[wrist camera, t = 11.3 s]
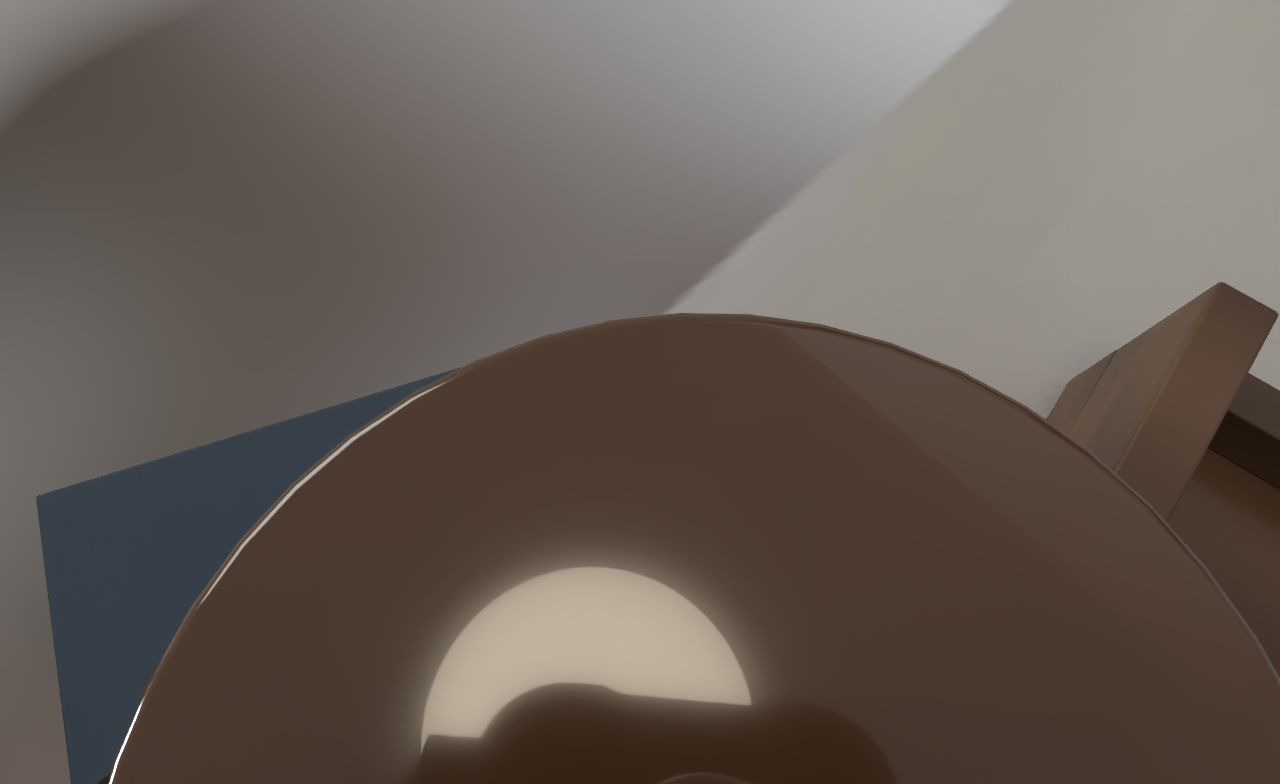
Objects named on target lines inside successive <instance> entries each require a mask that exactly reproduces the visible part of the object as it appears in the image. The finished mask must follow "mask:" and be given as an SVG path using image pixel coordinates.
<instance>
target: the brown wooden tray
mask: <svg viewBox="0 0 1280 784" xmlns="http://www.w3.org/2000/svg"><path fill="white" fill-rule="evenodd" d="M1277 317H1278V313H1277V312H1276V311H1274V310H1272V309H1271V308H1269V307H1267V306H1265V305H1263V304H1262V303H1260V302H1258V301H1256V300H1254V299H1253V298H1251V297H1249V296H1247V295H1245V294H1243V293H1242V292H1240V291H1238V290H1236V289H1234V288H1233V287H1231V286H1229V285H1227V284H1225V283H1222V282H1219V283H1217V284H1216V285H1214V286H1213V287H1211V288H1210V289H1208V290H1207V291H1205V292H1204V293H1202V294H1201V295H1199V296H1198V297H1196V298H1195V299H1193V300H1192V301H1190V302H1189V303H1187V304H1186V305H1184V306H1183V307H1181V308H1180V309H1178V310H1177V311H1175V312H1174V313H1172V314H1171V315H1169V316H1168V317H1166V318H1165V319H1163V320H1162V321H1160V322H1159V323H1157V324H1156V325H1154V326H1153V327H1151V328H1150V329H1148V330H1147V331H1145V332H1144V333H1142V334H1141V335H1139V336H1138V337H1136V338H1135V339H1133V340H1132V341H1130V342H1129V343H1127V344H1126V345H1124V346H1123V347H1121V348H1120V349H1118V350H1115V351H1114V352H1112V353H1111V354H1109V355H1108V356H1106V357H1105V358H1103V359H1102V360H1100V361H1099V362H1097V363H1096V364H1094V365H1093V366H1091V367H1090V368H1088V369H1087V370H1085V371H1084V372H1082V373H1081V374H1079V375H1078V376H1076V377H1075V378H1073V379H1072V380H1070V381H1069V383H1068V385H1067V387H1066V388H1065V390H1064V392H1063V393H1062V395H1061V397H1060V398H1059V400H1058V402H1057V404H1056V405H1055V407H1054V409H1053V410H1052V412H1051V414H1050V415H1049V417H1048V419H1047V421H1048V422H1049V423H1051V424H1052V425H1054V426H1055V427H1056V428H1058V429H1059V430H1061V431H1062V432H1064V433H1065V434H1066V435H1068V436H1069V437H1071V438H1072V439H1074V440H1075V441H1076V442H1078V443H1079V444H1081V445H1082V446H1084V447H1085V448H1086V449H1088V450H1089V451H1091V452H1092V453H1093V454H1094V455H1095V456H1096V457H1097V458H1099V459H1100V460H1101V461H1102V462H1103V463H1104V464H1105V465H1106V466H1108V467H1109V468H1110V469H1111V470H1112V471H1113V472H1114V473H1115V474H1117V475H1118V476H1119V477H1120V478H1121V479H1122V480H1123V481H1124V482H1126V483H1127V484H1128V485H1129V486H1130V487H1131V488H1132V489H1134V490H1135V491H1136V492H1137V493H1138V494H1139V495H1140V496H1141V497H1143V498H1144V499H1145V500H1146V501H1147V502H1148V503H1149V504H1150V505H1151V506H1152V507H1153V508H1154V509H1155V510H1156V511H1157V512H1158V513H1159V514H1160V516H1161V517H1162V518H1163V519H1164V520H1165V521H1166V522H1167V523H1168V524H1169V526H1170V527H1171V528H1172V529H1173V530H1174V531H1175V532H1176V533H1177V534H1178V536H1179V537H1180V538H1181V539H1182V540H1183V541H1184V542H1185V543H1186V544H1187V546H1188V547H1189V548H1190V549H1191V550H1192V551H1193V552H1194V553H1195V554H1196V555H1197V557H1198V558H1199V559H1200V560H1201V561H1202V562H1203V563H1204V564H1205V565H1206V567H1207V568H1208V569H1209V571H1210V572H1211V574H1212V575H1213V576H1214V578H1215V579H1216V580H1217V582H1218V583H1219V585H1220V586H1221V587H1222V589H1223V590H1224V592H1225V593H1226V594H1227V596H1228V597H1229V599H1230V600H1231V601H1232V603H1233V604H1234V606H1235V607H1236V608H1237V610H1238V611H1239V612H1240V614H1241V615H1242V617H1243V618H1244V619H1245V621H1246V622H1247V624H1248V625H1249V626H1250V628H1251V629H1252V631H1253V632H1254V633H1255V635H1256V636H1257V638H1258V639H1259V641H1260V643H1261V645H1262V647H1263V648H1264V650H1265V652H1266V654H1267V655H1268V657H1269V659H1270V661H1271V663H1272V664H1273V666H1274V668H1275V670H1276V671H1277V673H1278V675H1279V677H1280V391H1279V390H1277V389H1276V388H1274V387H1272V386H1270V385H1268V384H1267V383H1265V382H1263V381H1261V380H1260V379H1258V378H1256V377H1254V376H1253V375H1251V374H1249V373H1248V372H1249V370H1250V368H1251V366H1252V364H1253V362H1254V360H1255V358H1256V357H1257V355H1258V353H1259V351H1260V349H1261V347H1262V345H1263V344H1264V342H1265V340H1266V338H1267V336H1268V334H1269V332H1270V330H1271V329H1272V327H1273V325H1274V323H1275V321H1276V319H1277Z"/></svg>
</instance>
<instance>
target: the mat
mask: <svg viewBox="0 0 1280 784" xmlns="http://www.w3.org/2000/svg"><path fill="white" fill-rule="evenodd" d="M461 368H462V367H461ZM458 369H460V368H458ZM458 369H455V370H451V371H448V372H444V373H441V374H438V375H435V376H431V377H428V378H425V379H422V380H418V381H415V382H412V383H408V384H405V385H402V386H398V387H395V388H392V389H388V390H385V391H382V392H378V393H375V394H372V395H369V396H366V397H362V398H359V399H355V400H352V401H349V402H345V403H342V404H339V405H336V406H333V407H329V408H326V409H323V410H319V411H316V412H312V413H309V414H306V415H303V416H299V417H296V418H293V419H289V420H286V421H283V422H279V423H276V424H273V425H270V426H266V427H263V428H260V429H256V430H253V431H250V432H247V433H243V434H240V435H236V436H233V437H230V438H227V439H223V440H220V441H217V442H213V443H210V444H207V445H204V446H200V447H197V448H194V449H190V450H187V451H184V452H180V453H178V454H174V455H171V456H167V457H164V458H161V459H157V460H154V461H151V462H147V463H144V464H141V465H137V466H134V467H131V468H128V469H125V470H121V471H118V472H114V473H111V474H108V475H105V476H101V477H98V478H95V479H91V480H88V481H85V482H81V483H78V484H75V485H71V486H68V487H65V488H62V489H58V490H55V491H52V492H48V493H45V494H42V495H39V496H37V497H36V500H37V509H38V516H39V524H40V532H41V541H42V549H43V557H44V565H45V573H46V582H47V590H48V598H49V607H50V615H51V622H52V631H53V639H54V647H55V654H56V664H57V672H58V680H59V688H60V696H61V704H62V712H63V721H64V728H65V737H66V745H67V753H68V761H69V770H70V778H71V784H95V783H96V782H97V781H99V780H100V779H101V778H103V777H104V776H105V775H107V774H108V773H109V772H111V771H112V769H113V765H114V762H115V759H116V757H117V754H118V752H119V750H120V747H121V745H122V743H123V740H124V738H125V736H126V733H127V731H128V729H129V726H130V724H131V722H132V719H133V717H134V715H135V712H136V710H137V708H138V705H139V703H140V701H141V698H142V696H143V694H144V691H145V689H146V687H147V684H148V682H149V680H150V678H151V676H152V674H153V673H154V671H155V669H156V667H157V666H158V664H159V662H160V660H161V659H162V657H163V655H164V653H165V652H166V650H167V648H168V646H169V645H170V643H171V641H172V639H173V638H174V636H175V634H176V632H177V630H178V629H179V627H180V625H181V623H182V622H183V620H184V618H185V616H186V615H187V613H188V611H189V609H190V608H191V606H192V605H193V603H194V602H195V601H196V599H197V598H198V596H199V595H200V594H201V592H202V591H203V590H204V588H205V587H206V586H207V584H208V583H209V581H210V580H211V579H212V577H213V576H214V575H215V573H216V572H217V571H218V569H219V568H220V566H221V565H222V564H223V562H224V561H225V560H226V558H227V557H228V555H229V554H230V553H231V551H232V550H233V549H234V547H235V546H236V545H237V543H238V542H239V541H240V540H241V538H242V537H243V536H244V535H245V534H246V533H247V532H248V531H249V530H250V529H251V528H252V527H253V525H254V524H255V523H256V522H257V521H258V520H259V519H260V518H261V517H262V516H263V515H264V514H265V512H266V511H267V510H268V509H269V508H270V507H271V506H272V505H273V504H274V503H275V502H276V501H277V500H278V498H279V497H280V496H281V495H282V494H283V493H284V492H285V491H286V490H287V489H288V488H289V487H290V485H291V484H292V483H294V482H295V481H296V480H297V479H298V478H299V477H301V476H302V475H303V474H304V473H305V472H306V471H308V470H309V469H310V468H311V467H312V466H313V465H315V464H316V463H317V462H318V461H319V460H320V459H322V458H323V457H324V456H325V455H326V454H327V453H329V452H330V451H331V450H332V449H333V448H334V447H336V446H337V445H338V444H339V443H340V442H341V441H343V440H344V439H345V438H346V437H347V436H348V435H350V434H351V433H353V432H354V431H356V430H357V429H359V428H360V427H362V426H363V425H365V424H366V423H368V422H369V421H371V420H372V419H374V418H375V417H377V416H378V415H380V414H381V413H383V412H384V411H385V410H387V409H388V408H390V407H391V406H393V405H394V404H396V403H397V402H399V401H400V400H402V399H403V398H405V397H406V396H408V395H409V394H411V393H413V392H415V391H417V390H419V389H420V388H422V387H424V386H426V385H428V384H430V383H432V382H434V381H436V380H438V379H440V378H442V377H444V376H446V375H448V374H450V373H452V372H454V371H456V370H458Z"/></svg>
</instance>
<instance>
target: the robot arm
mask: <svg viewBox="0 0 1280 784" xmlns="http://www.w3.org/2000/svg"><path fill="white" fill-rule="evenodd" d="M111 772H112V771H111ZM111 772H109V773H108V774H107V775H105V776H104V777H103V778H101V779H100V780H99V781H97V782H96V783H95V784H108V782H109V778H110V775H111Z"/></svg>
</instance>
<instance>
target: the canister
mask: <svg viewBox="0 0 1280 784" xmlns="http://www.w3.org/2000/svg"><path fill="white" fill-rule="evenodd" d="M108 784H1280V677H1279V675H1278V673H1277V671H1276V670H1275V668H1274V666H1273V664H1272V663H1271V661H1270V659H1269V657H1268V655H1267V654H1266V652H1265V650H1264V648H1263V647H1262V645H1261V643H1260V641H1259V639H1258V638H1257V636H1256V635H1255V633H1254V632H1253V631H1252V629H1251V628H1250V626H1249V625H1248V624H1247V622H1246V621H1245V619H1244V618H1243V617H1242V615H1241V614H1240V612H1239V611H1238V610H1237V608H1236V607H1235V606H1234V604H1233V603H1232V601H1231V600H1230V599H1229V597H1228V596H1227V594H1226V593H1225V592H1224V590H1223V589H1222V587H1221V586H1220V585H1219V583H1218V582H1217V580H1216V579H1215V578H1214V576H1213V575H1212V574H1211V572H1210V571H1209V569H1208V568H1207V567H1206V565H1205V564H1204V563H1203V562H1202V561H1201V560H1200V559H1199V558H1198V557H1197V555H1196V554H1195V553H1194V552H1193V551H1192V550H1191V549H1190V548H1189V547H1188V546H1187V544H1186V543H1185V542H1184V541H1183V540H1182V539H1181V538H1180V537H1179V536H1178V534H1177V533H1176V532H1175V531H1174V530H1173V529H1172V528H1171V527H1170V526H1169V524H1168V523H1167V522H1166V521H1165V520H1164V519H1163V518H1162V517H1161V516H1160V514H1159V513H1158V512H1157V511H1156V510H1155V509H1154V508H1153V507H1152V506H1151V505H1150V504H1149V503H1148V502H1147V501H1146V500H1145V499H1144V498H1143V497H1141V496H1140V495H1139V494H1138V493H1137V492H1136V491H1135V490H1134V489H1132V488H1131V487H1130V486H1129V485H1128V484H1127V483H1126V482H1124V481H1123V480H1122V479H1121V478H1120V477H1119V476H1118V475H1117V474H1115V473H1114V472H1113V471H1112V470H1111V469H1110V468H1109V467H1108V466H1106V465H1105V464H1104V463H1103V462H1102V461H1101V460H1100V459H1099V458H1097V457H1096V456H1095V455H1094V454H1093V453H1092V452H1091V451H1089V450H1088V449H1086V448H1085V447H1084V446H1082V445H1081V444H1079V443H1078V442H1076V441H1075V440H1074V439H1072V438H1071V437H1069V436H1068V435H1066V434H1065V433H1064V432H1062V431H1061V430H1059V429H1058V428H1056V427H1055V426H1054V425H1052V424H1051V423H1049V422H1048V421H1046V420H1045V419H1044V418H1042V417H1041V416H1039V415H1038V414H1036V413H1035V412H1034V411H1032V410H1031V409H1029V408H1028V407H1026V406H1025V405H1023V404H1021V403H1019V402H1017V401H1015V400H1014V399H1012V398H1010V397H1008V396H1006V395H1004V394H1002V393H1001V392H999V391H997V390H995V389H993V388H991V387H990V386H988V385H986V384H984V383H982V382H980V381H978V380H977V379H975V378H973V377H971V376H969V375H967V374H965V373H964V372H962V371H960V370H958V369H955V368H953V367H950V366H948V365H945V364H942V363H940V362H937V361H935V360H932V359H930V358H927V357H925V356H922V355H920V354H917V353H915V352H912V351H910V350H907V349H905V348H902V347H900V346H897V345H895V344H892V343H889V342H885V341H881V340H878V339H874V338H870V337H866V336H863V335H859V334H855V333H851V332H848V331H844V330H840V329H836V328H832V327H829V326H825V325H821V324H815V323H808V322H801V321H793V320H786V319H779V318H772V317H765V316H758V315H751V314H698V313H677V314H667V315H658V316H649V317H639V318H629V319H620V320H610V321H606V322H602V323H597V324H593V325H589V326H584V327H580V328H576V329H572V330H568V331H563V332H558V333H554V334H550V335H546V336H542V337H539V338H536V339H533V340H531V341H528V342H525V343H522V344H520V345H517V346H514V347H512V348H509V349H506V350H503V351H500V352H498V353H495V354H492V355H489V356H487V357H484V358H481V359H478V360H476V361H474V362H472V363H470V364H468V365H466V366H464V367H462V368H460V369H458V370H456V371H454V372H452V373H450V374H448V375H446V376H444V377H442V378H440V379H438V380H436V381H434V382H432V383H430V384H428V385H426V386H424V387H422V388H420V389H419V390H417V391H415V392H413V393H411V394H409V395H408V396H406V397H405V398H403V399H402V400H400V401H399V402H397V403H396V404H394V405H393V406H391V407H390V408H388V409H387V410H385V411H384V412H383V413H381V414H380V415H378V416H377V417H375V418H374V419H372V420H371V421H369V422H368V423H366V424H365V425H363V426H362V427H360V428H359V429H357V430H356V431H354V432H353V433H351V434H350V435H348V436H347V437H346V438H345V439H344V440H343V441H341V442H340V443H339V444H338V445H337V446H336V447H334V448H333V449H332V450H331V451H330V452H329V453H327V454H326V455H325V456H324V457H323V458H322V459H320V460H319V461H318V462H317V463H316V464H315V465H313V466H312V467H311V468H310V469H309V470H308V471H306V472H305V473H304V474H303V475H302V476H301V477H299V478H298V479H297V480H296V481H295V482H294V483H292V484H291V485H290V487H289V488H288V489H287V490H286V491H285V492H284V493H283V494H282V495H281V496H280V497H279V498H278V500H277V501H276V502H275V503H274V504H273V505H272V506H271V507H270V508H269V509H268V510H267V511H266V512H265V514H264V515H263V516H262V517H261V518H260V519H259V520H258V521H257V522H256V523H255V524H254V525H253V527H252V528H251V529H250V530H249V531H248V532H247V533H246V534H245V535H244V536H243V537H242V538H241V540H240V541H239V542H238V543H237V545H236V546H235V547H234V549H233V550H232V551H231V553H230V554H229V555H228V557H227V558H226V560H225V561H224V562H223V564H222V565H221V566H220V568H219V569H218V571H217V572H216V573H215V575H214V576H213V577H212V579H211V580H210V581H209V583H208V584H207V586H206V587H205V588H204V590H203V591H202V592H201V594H200V595H199V596H198V598H197V599H196V601H195V602H194V603H193V605H192V606H191V608H190V609H189V611H188V613H187V615H186V616H185V618H184V620H183V622H182V623H181V625H180V627H179V629H178V630H177V632H176V634H175V636H174V638H173V639H172V641H171V643H170V645H169V646H168V648H167V650H166V652H165V653H164V655H163V657H162V659H161V660H160V662H159V664H158V666H157V667H156V669H155V671H154V673H153V674H152V676H151V678H150V680H149V682H148V684H147V687H146V689H145V691H144V694H143V696H142V698H141V701H140V703H139V705H138V708H137V710H136V712H135V715H134V717H133V719H132V722H131V724H130V726H129V729H128V731H127V733H126V736H125V738H124V740H123V743H122V745H121V747H120V750H119V752H118V754H117V757H116V759H115V762H114V765H113V769H112V772H111V775H110V778H109V782H108Z"/></svg>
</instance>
